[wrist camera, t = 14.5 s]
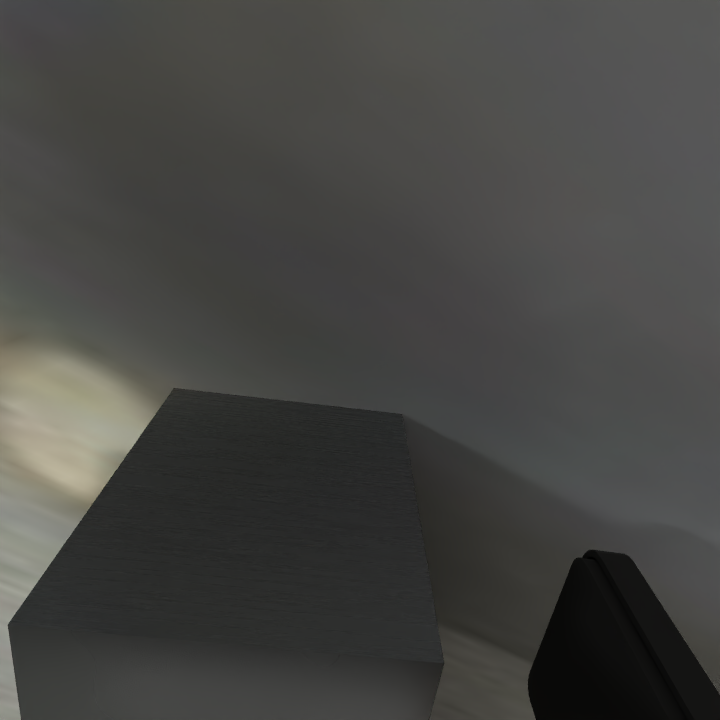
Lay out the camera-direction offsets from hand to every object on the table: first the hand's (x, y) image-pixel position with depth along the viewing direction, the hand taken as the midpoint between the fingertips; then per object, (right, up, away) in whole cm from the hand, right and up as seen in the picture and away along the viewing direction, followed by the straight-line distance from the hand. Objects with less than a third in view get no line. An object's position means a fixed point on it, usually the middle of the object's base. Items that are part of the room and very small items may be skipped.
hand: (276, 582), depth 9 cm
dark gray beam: (-1, -5, +4) cm, 6 cm away
